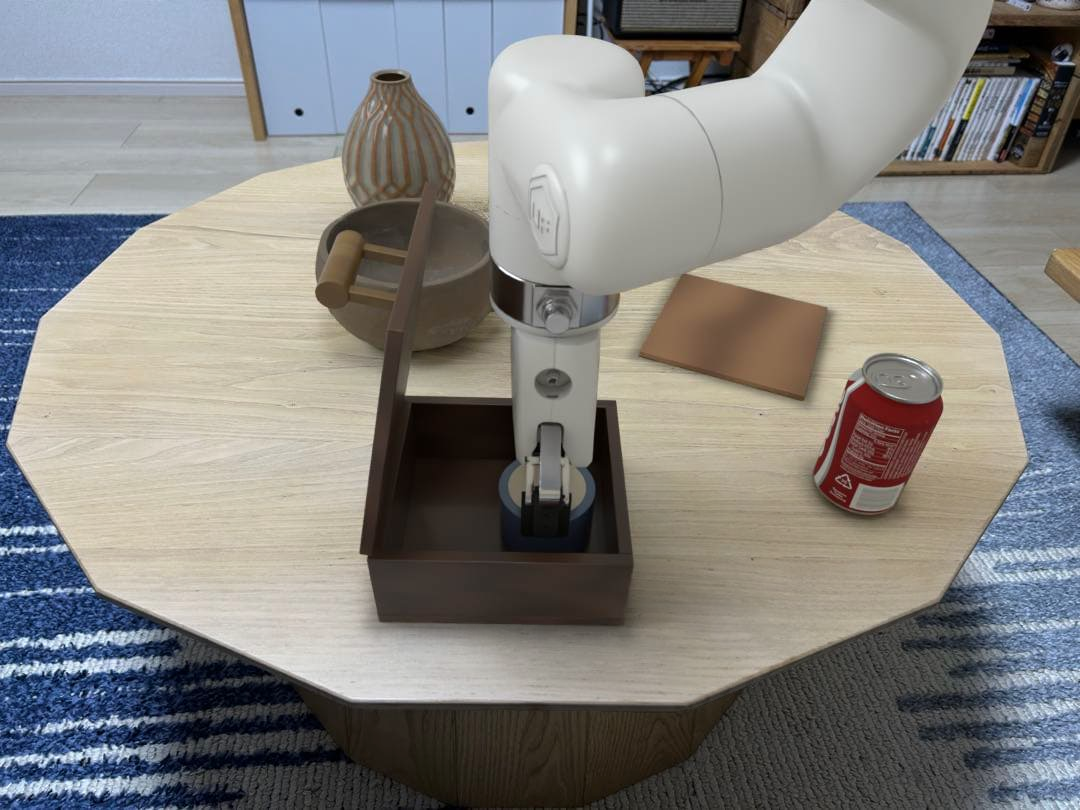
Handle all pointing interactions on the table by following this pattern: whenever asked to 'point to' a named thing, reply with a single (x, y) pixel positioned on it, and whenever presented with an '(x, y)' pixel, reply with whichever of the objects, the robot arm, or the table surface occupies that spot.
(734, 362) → the plate
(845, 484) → the soda can
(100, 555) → the table surface
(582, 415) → the robot arm
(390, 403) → the lid
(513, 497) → the blue beige short cylinder
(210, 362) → the table surface
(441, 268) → the bowl
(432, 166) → the vase
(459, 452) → the chest
